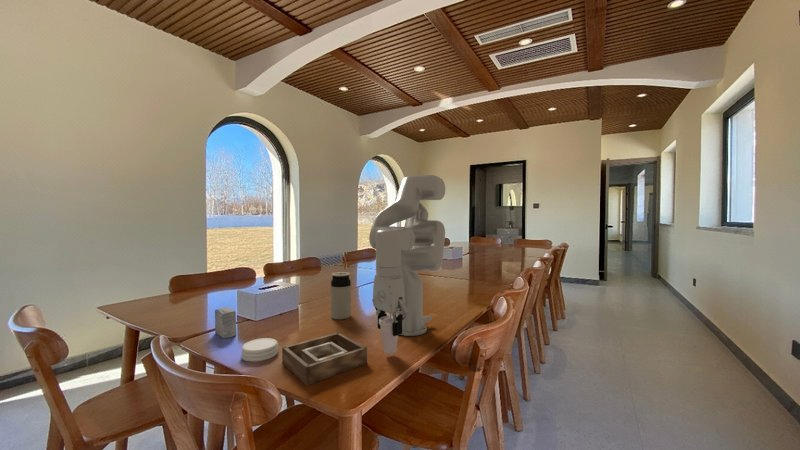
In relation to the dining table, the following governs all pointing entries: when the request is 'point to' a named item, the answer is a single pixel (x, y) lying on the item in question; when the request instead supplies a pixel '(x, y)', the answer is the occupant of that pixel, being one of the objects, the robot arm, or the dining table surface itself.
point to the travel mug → (340, 295)
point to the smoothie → (388, 334)
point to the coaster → (259, 349)
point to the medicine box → (225, 322)
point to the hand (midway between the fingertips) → (389, 330)
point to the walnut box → (323, 357)
